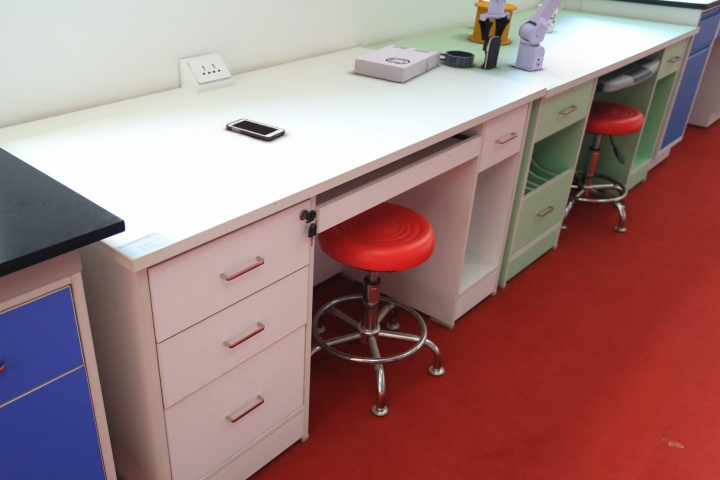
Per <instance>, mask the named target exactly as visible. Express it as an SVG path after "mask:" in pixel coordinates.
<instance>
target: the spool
mask: <svg viewBox="0 0 720 480" xmlns="http://www.w3.org/2000/svg"><path fill="white" fill-rule="evenodd" d="M489 2H490V1H481V2H479V1H476V2H474V4H473V5H474V7H476V14H475V20H474V27H473V32H472V34H470V35H469V36H468V39H469V40H470V41H471V42H474V43H478V44H484V40H482V38H481V29H480V25H479V22H478V20H479V19H480V15H481V14H484V13H487V12H488V7H489ZM517 10H518V6H517V5H515V4H512V3H507V2H506V3H505V9H504V12H510V16H509V18H507V19H510V22H509V23H508V25H507V26H506V27H505V29H504V31H503V33H502V36H501V45H500V46H506V45H510V44H511V39H510V38H509V34H510V28H511V22H512V17H513V12H514V11H517ZM489 21H490V22H494V23H493V25H492V27H491V29H490V32H489V36H495V28H496V24H495V19H491V20H489Z"/></svg>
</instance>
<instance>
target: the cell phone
mask: <svg viewBox="0 0 720 480" xmlns="http://www.w3.org/2000/svg"><path fill="white" fill-rule="evenodd" d="M225 128H226V129H228V130H231V131H235V132H238V133H240V134H245V135H247V136H248V135H249V136H252V137H255V138H259V139H262V140H266V141H271V140H274V139H276V138H278V137H280V136H283V135H284V134H286V130H285V129H283V128H281V127H280V128H279V127H277V126H274V125H273V126H272V125H269V124H265V123H262V122H258V121H256V120H255V121H254V120H251V119H247V118H239V119H237V120H235V121H232V122H229V123H227V124H226V125H225Z"/></svg>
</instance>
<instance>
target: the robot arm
mask: <svg viewBox="0 0 720 480" xmlns="http://www.w3.org/2000/svg"><path fill="white" fill-rule="evenodd" d="M562 2H563V0H544V1H543V2H542V3H541V4H542V5H541V6H540V8H539V9H538V8H537V9H538V11H537V10H536V12H535V14H533V15H531V16H530V17H529V18H528V19H527V20H526V21H525V22H523V23H522V24H521V25H520V26H519V28H518V36H519V44H518V49H517V54H516V58H515V63H510V66H511V67H515V68H518V69H521V70H525V71H528V72H533V71H539V70H542V69H543V63H544V58H545V53H546V50H545V47H544V46H543V45H542V46H541V45H540V44H541V43H543V41H544V39H545V36H546V34H547V33H546V31H547V29H548V21H549V19H550V18H551V16H552V15H553V13H554V12H555V11H556V9H557V8H558V7H559V6H560V4H562ZM505 3H507V0H490V2H489V7H488V12H487V13H484V14H481V15H480V19H479V20H478V22H479V25H480V29H481V38H482V40H484V41H487V39H488V36H489V32H490V29H491V27H492V25H493V23H494V22H490V21H489V20H491V19H495V24H496V28H495V36H499V37H501V36H502V33H503V31H504V29H505V27H506V26H507V25H508V23H509V22H510V19H507V18H509V16H510V12H504V9H505ZM558 9H559V8H558Z"/></svg>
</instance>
